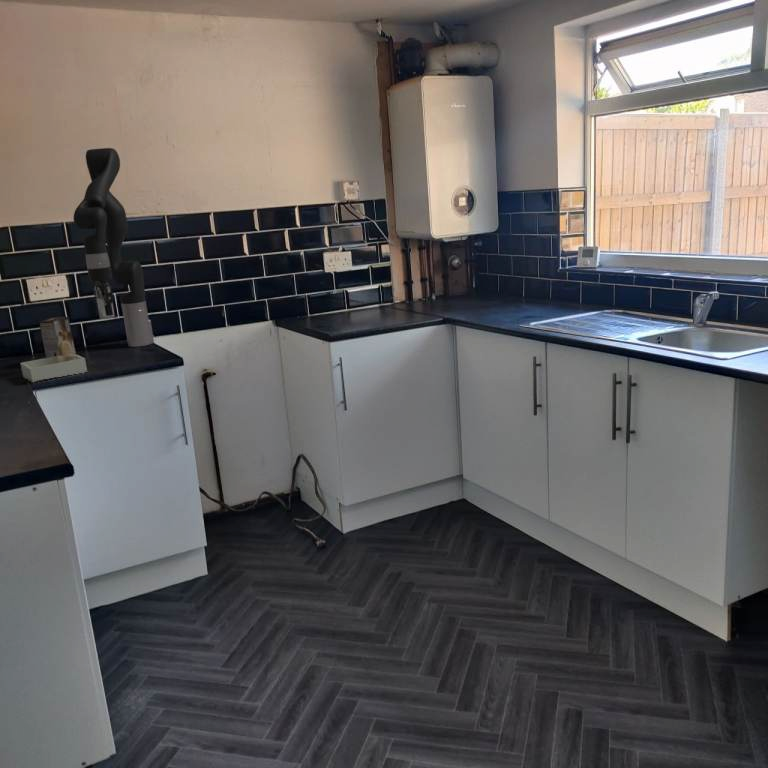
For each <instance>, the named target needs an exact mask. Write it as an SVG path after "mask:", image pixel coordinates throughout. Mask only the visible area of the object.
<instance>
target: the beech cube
mask: <svg viewBox="0 0 768 768" xmlns="http://www.w3.org/2000/svg"><path fill="white" fill-rule="evenodd" d="M56 357H57V362H58V363H61V362H66V361H71V360H76V356H75V355H74V354H66V355H60V356H56Z"/></svg>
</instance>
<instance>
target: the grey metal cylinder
mask: <svg viewBox="0 0 768 768" xmlns="http://www.w3.org/2000/svg"><path fill="white" fill-rule="evenodd" d="M108 300H109V299H108ZM96 303H97V309H98V315H99V319H100V320H106V319H112V318H115V317H116V315H115V308H114V302H113V303H112V304H111V306H112V311H113V315H110V316H107V315H106V312H105V306H104V302H103V299H101V298H97V302H96Z"/></svg>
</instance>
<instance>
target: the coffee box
mask: <svg viewBox="0 0 768 768" xmlns="http://www.w3.org/2000/svg"><path fill="white" fill-rule="evenodd" d="M69 317H70V316H56V317H50V318H48V319H45V320H42V321H41V320H40V321H39V322H38V324H39V329H40V333H41V338H42V342H43V348H44V353H45V358H49V357H54V356H60V355H65V354H70V353H74V354H77V353H76V347H75V343H74V342H75V341H74V338H73V332H72V328H71V322H70V318H69Z"/></svg>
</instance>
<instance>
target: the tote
mask: <svg viewBox="0 0 768 768" xmlns="http://www.w3.org/2000/svg"><path fill="white" fill-rule="evenodd" d="M70 354H74V353H70ZM65 355H66V354H65ZM74 355H75V356H76V360H71V361H66V362H61V363H58V362H57V357H56V356H54V357H49V358H46V357H45V358H44V357H43V358H40V359H39V358H38V359H35V360H29V361H23V362H20V367H21V368H20V369H21V372H22V377H23V378H24V379H26V380H27V379H28V380H27V381H29V382H30V381H31V382H30V383H32V382H33V383H34V382H36V381H39V380H43V379H49V378H54V377H62V376H67V375H72V376H74V375H73V374H77V375H80V374H79V373H82V374H85V372H87V373H88V368H87V363H86V358H85V357H83V356H81V355H78V354H77V353H76V354H74ZM33 383H32V384H33ZM34 384H35V383H34Z"/></svg>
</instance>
